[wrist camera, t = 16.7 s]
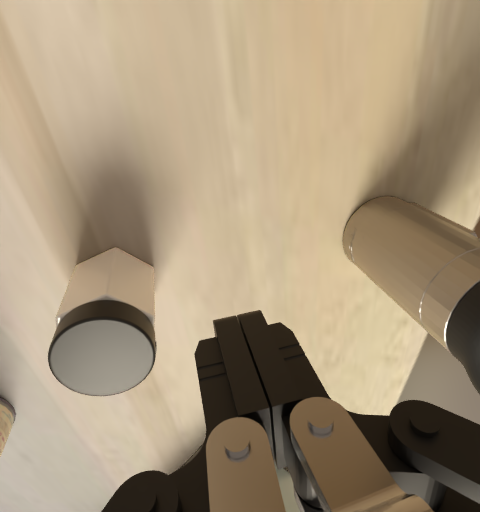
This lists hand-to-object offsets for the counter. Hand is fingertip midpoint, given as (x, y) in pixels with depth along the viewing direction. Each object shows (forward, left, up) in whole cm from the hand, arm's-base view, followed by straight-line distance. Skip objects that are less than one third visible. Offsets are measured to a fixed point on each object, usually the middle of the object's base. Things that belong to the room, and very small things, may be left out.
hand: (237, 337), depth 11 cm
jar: (+9, +12, -27) cm, 31 cm away
